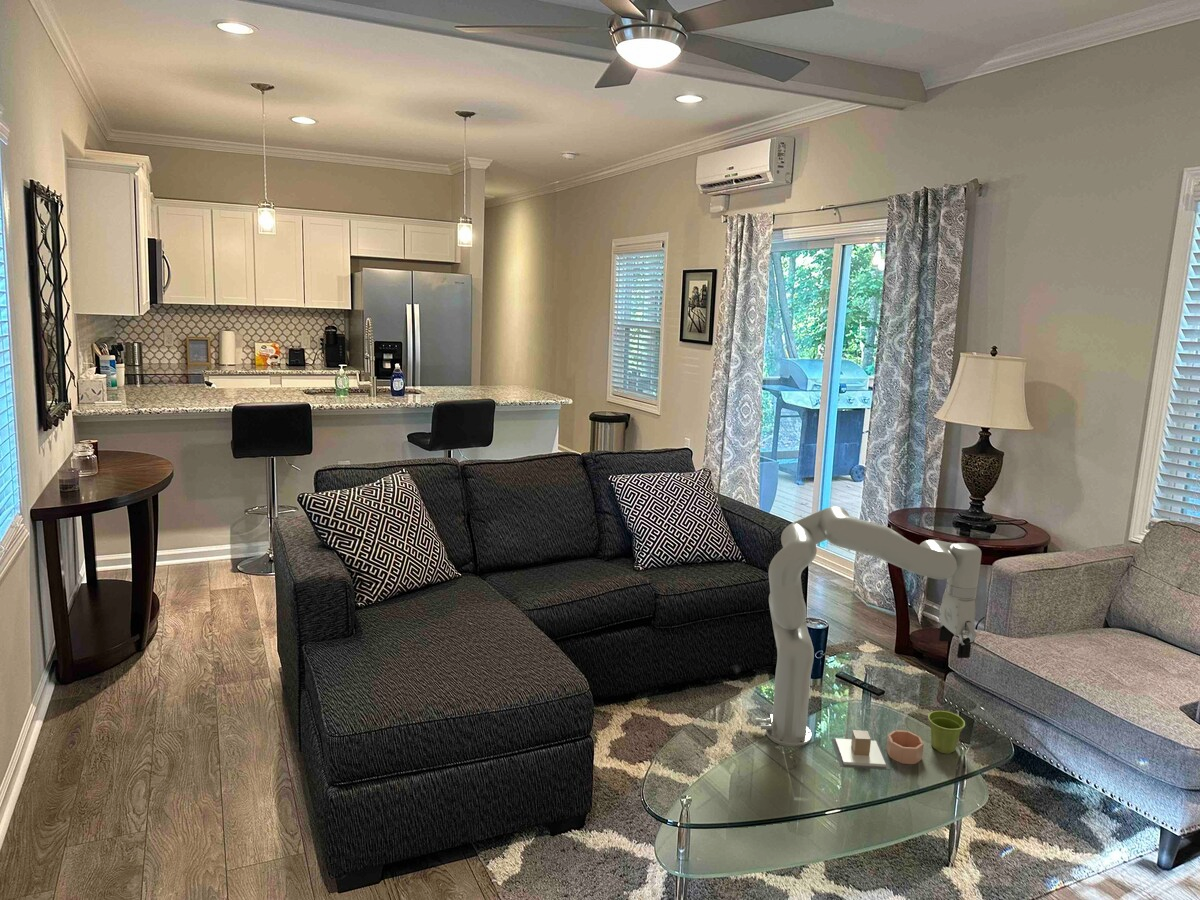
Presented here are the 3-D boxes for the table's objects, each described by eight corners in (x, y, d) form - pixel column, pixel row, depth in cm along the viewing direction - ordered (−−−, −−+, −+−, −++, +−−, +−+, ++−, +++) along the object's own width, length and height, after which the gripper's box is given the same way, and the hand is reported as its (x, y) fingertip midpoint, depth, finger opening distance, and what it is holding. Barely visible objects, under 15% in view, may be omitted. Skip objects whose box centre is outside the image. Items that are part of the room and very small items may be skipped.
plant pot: (964, 759, 227) (968, 731, 225) (928, 755, 229) (931, 726, 227) (957, 740, 236) (961, 712, 234) (922, 736, 238) (925, 708, 236)
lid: (843, 764, 224) (845, 745, 222) (835, 741, 234) (837, 722, 233) (885, 766, 223) (887, 747, 221) (875, 743, 233) (877, 724, 232)
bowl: (891, 764, 225) (893, 747, 224) (883, 745, 233) (884, 729, 232) (925, 766, 224) (927, 749, 223) (915, 747, 233) (917, 731, 232)
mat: (840, 768, 223) (840, 766, 223) (830, 740, 235) (830, 738, 235) (890, 771, 222) (890, 769, 222) (878, 743, 234) (878, 741, 234)
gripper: (931, 577, 231) (925, 635, 235) (964, 603, 214) (956, 664, 218) (957, 577, 232) (950, 634, 236) (992, 602, 215) (984, 663, 219)
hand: (953, 648), depth 227 cm, fingers open, 9 cm apart
